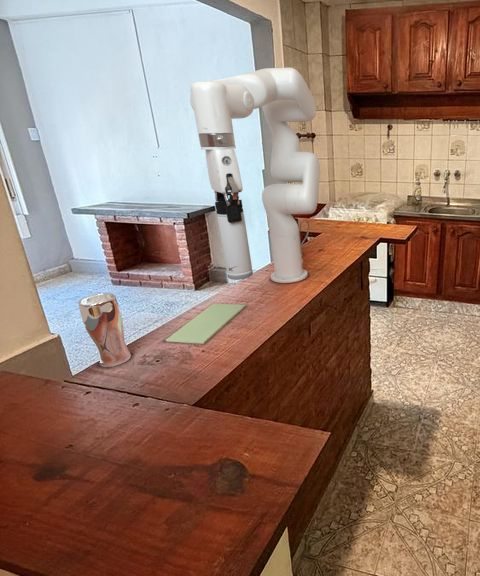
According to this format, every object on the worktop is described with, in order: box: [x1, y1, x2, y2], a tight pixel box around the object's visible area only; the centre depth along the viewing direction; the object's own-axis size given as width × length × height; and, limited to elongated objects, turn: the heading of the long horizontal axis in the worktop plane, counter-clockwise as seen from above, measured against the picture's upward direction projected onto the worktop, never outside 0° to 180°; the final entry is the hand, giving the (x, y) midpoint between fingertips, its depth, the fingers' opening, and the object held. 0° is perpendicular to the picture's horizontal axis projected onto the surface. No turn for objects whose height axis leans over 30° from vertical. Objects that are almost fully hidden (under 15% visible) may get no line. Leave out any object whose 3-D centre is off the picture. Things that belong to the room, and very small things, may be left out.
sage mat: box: [165, 302, 247, 345], centre depth 106 cm, size 22×10×1 cm, turn 172°
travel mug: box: [214, 199, 254, 281], centre depth 100 cm, size 6×7×20 cm
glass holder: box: [293, 217, 310, 258], centre depth 160 cm, size 9×14×15 cm, turn 139°
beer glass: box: [77, 292, 132, 368], centre depth 87 cm, size 7×7×15 cm
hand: (230, 218), depth 98 cm, fingers closed on travel mug, 6 cm apart
